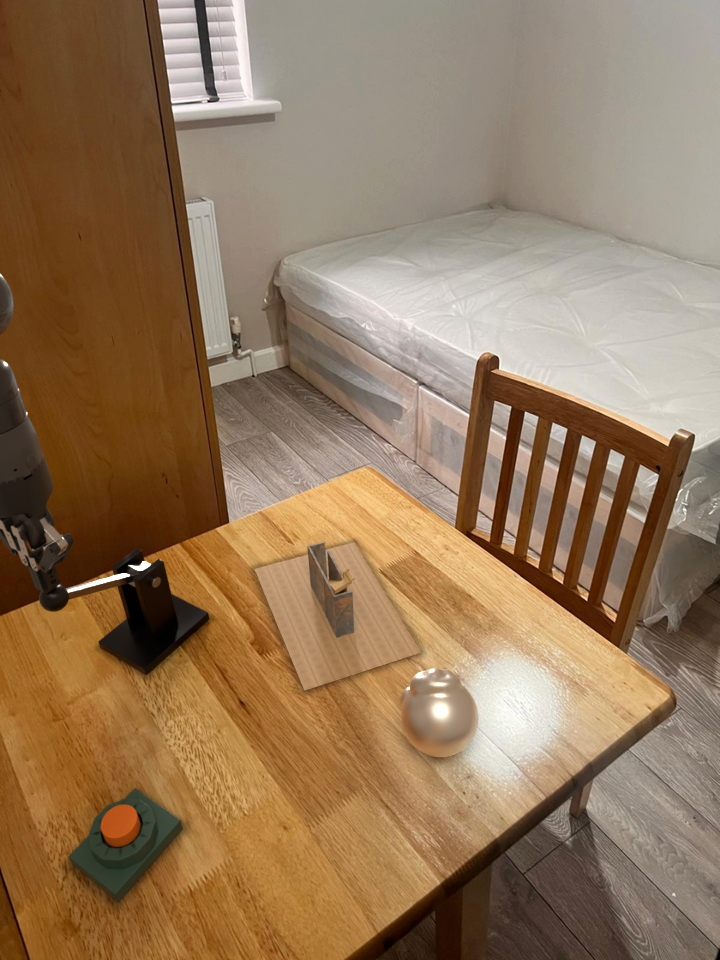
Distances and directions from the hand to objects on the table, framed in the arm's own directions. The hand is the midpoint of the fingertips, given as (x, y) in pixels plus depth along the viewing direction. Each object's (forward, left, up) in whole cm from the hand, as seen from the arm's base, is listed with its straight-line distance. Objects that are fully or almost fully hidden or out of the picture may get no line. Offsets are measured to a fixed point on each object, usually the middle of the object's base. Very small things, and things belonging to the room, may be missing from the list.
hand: (49, 587), depth 83 cm
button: (-11, -20, -15) cm, 27 cm away
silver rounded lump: (+18, -41, -18) cm, 48 cm away
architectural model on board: (+29, -18, -18) cm, 39 cm away
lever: (+5, 0, -6) cm, 8 cm away
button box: (-11, -20, -18) cm, 29 cm away
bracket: (+12, 0, -18) cm, 22 cm away
